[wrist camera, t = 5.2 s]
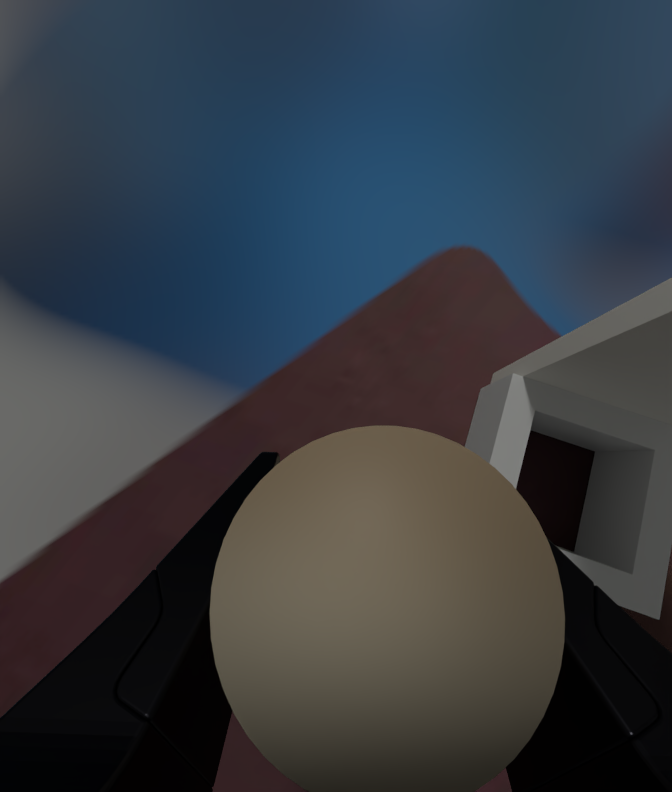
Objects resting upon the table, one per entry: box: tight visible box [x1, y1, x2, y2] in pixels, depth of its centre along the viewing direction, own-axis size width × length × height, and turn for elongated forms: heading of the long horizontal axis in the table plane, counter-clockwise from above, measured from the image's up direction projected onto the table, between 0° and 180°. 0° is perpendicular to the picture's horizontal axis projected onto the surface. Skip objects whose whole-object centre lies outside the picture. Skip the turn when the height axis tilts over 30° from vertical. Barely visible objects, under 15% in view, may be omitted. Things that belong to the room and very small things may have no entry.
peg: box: [210, 426, 565, 792], centre depth 9 cm, size 4×4×11 cm
